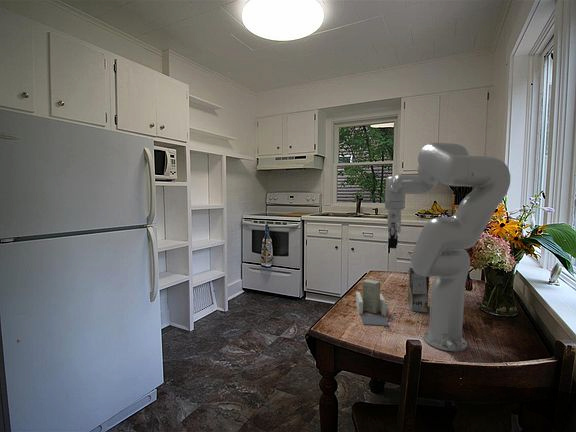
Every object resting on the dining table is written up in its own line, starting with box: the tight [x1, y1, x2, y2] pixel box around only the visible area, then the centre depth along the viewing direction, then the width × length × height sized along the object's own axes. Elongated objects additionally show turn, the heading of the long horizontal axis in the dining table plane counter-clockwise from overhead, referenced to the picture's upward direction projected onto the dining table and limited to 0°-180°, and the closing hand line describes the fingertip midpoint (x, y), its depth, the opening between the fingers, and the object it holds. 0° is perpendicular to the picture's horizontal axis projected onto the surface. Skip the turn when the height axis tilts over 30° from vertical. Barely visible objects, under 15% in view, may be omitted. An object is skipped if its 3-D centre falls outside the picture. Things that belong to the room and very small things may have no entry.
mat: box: [360, 313, 390, 327], centre depth 116 cm, size 9×9×1 cm
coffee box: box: [407, 267, 430, 313], centre depth 129 cm, size 9×6×16 cm
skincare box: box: [361, 278, 381, 314], centre depth 125 cm, size 6×4×12 cm
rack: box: [355, 291, 388, 317], centre depth 127 cm, size 12×10×5 cm
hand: (392, 246), depth 130 cm, fingers open, 9 cm apart
